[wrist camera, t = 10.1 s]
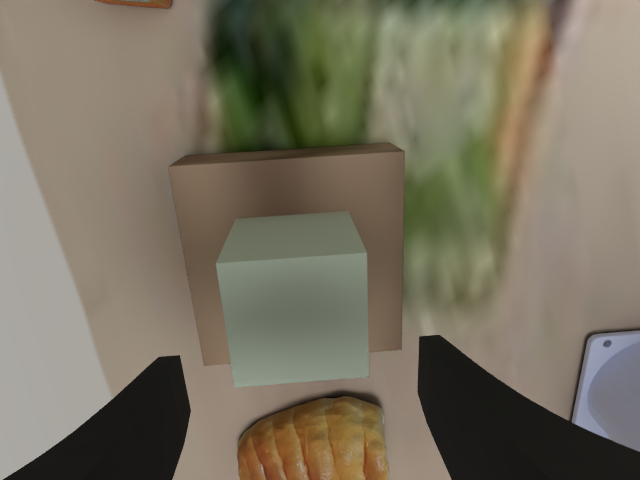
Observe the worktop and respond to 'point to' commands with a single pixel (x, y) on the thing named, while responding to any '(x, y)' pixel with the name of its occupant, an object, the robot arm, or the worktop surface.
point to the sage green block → (295, 299)
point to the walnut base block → (292, 199)
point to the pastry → (317, 443)
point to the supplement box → (141, 3)
